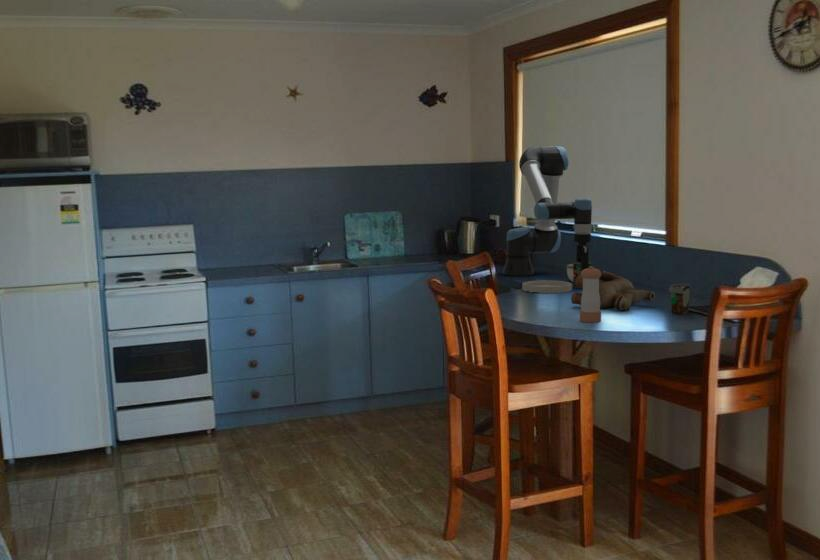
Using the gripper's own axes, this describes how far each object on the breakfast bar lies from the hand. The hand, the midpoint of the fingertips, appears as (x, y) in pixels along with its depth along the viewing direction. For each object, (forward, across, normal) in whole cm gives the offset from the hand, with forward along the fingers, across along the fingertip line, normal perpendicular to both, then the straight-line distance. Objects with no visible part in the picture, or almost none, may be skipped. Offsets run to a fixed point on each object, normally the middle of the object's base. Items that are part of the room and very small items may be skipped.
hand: (581, 284), depth 382 cm
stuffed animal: (+2, +53, +2) cm, 53 cm away
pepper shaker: (+2, +85, -15) cm, 86 cm away
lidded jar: (+2, -18, +2) cm, 18 cm away
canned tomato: (+1, 0, 0) cm, 1 cm away
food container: (+2, +70, +20) cm, 73 cm away
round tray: (+1, +8, -17) cm, 19 cm away
